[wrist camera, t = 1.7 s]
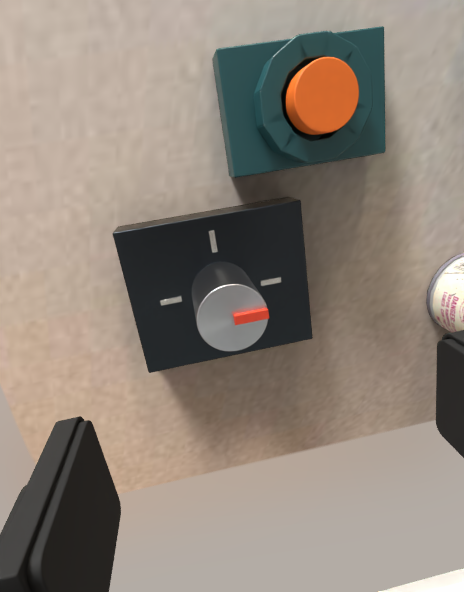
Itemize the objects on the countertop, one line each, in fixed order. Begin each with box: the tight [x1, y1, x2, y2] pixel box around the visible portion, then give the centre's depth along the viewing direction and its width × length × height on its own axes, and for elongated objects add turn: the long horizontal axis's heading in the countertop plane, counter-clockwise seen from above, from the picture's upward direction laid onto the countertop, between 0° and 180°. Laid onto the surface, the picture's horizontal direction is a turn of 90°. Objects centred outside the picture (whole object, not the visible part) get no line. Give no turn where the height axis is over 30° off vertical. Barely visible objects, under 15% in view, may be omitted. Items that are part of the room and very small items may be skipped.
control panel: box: [113, 197, 312, 373], centre depth 27 cm, size 12×10×3 cm
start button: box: [285, 57, 359, 135], centre depth 21 cm, size 4×4×2 cm
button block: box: [213, 27, 385, 178], centre depth 23 cm, size 10×7×4 cm
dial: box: [192, 262, 269, 351], centre depth 23 cm, size 4×4×5 cm
